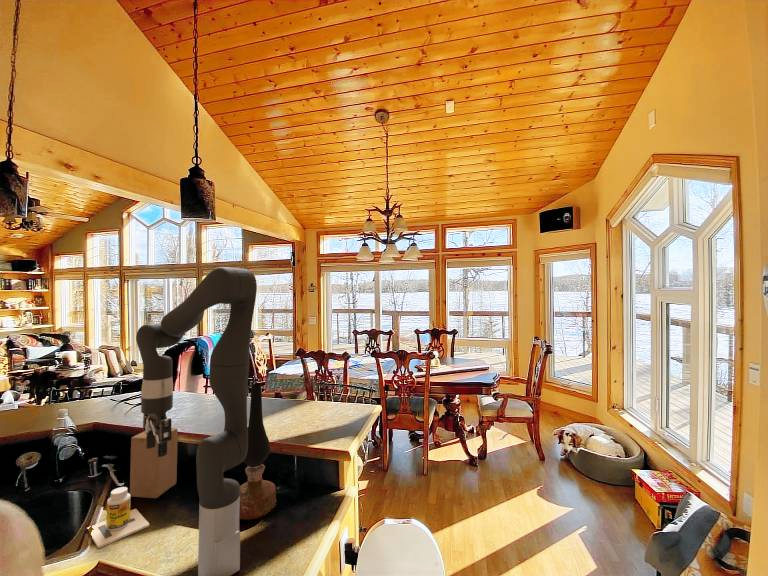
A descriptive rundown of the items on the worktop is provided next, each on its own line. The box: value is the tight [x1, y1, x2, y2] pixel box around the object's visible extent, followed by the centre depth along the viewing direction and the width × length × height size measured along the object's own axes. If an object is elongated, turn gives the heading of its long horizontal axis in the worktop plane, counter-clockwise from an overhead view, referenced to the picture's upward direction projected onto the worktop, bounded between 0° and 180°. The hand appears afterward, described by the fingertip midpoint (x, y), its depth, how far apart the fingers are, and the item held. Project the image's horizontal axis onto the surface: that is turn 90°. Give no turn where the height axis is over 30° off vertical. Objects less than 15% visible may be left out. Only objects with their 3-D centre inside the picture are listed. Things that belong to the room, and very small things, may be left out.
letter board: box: [86, 508, 150, 549], centre depth 103 cm, size 12×12×1 cm
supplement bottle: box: [105, 486, 131, 531], centre depth 103 cm, size 6×6×10 cm
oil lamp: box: [239, 383, 277, 520], centre depth 117 cm, size 14×15×40 cm
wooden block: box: [129, 427, 179, 499], centre depth 123 cm, size 10×10×20 cm
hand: (156, 451), depth 99 cm, fingers open, 8 cm apart
